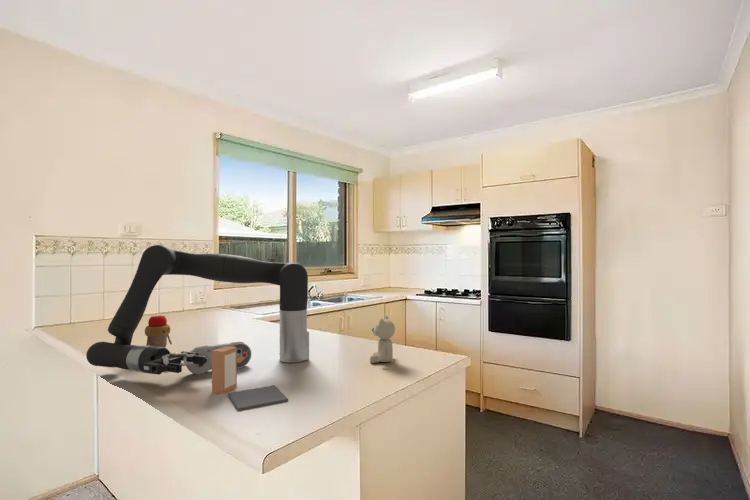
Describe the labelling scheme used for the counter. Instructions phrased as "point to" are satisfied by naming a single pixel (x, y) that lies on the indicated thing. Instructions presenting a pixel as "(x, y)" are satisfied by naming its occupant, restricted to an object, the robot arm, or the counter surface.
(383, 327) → the toy
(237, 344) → the game controller
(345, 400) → the counter surface
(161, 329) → the toy
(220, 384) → the box
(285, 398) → the mat
